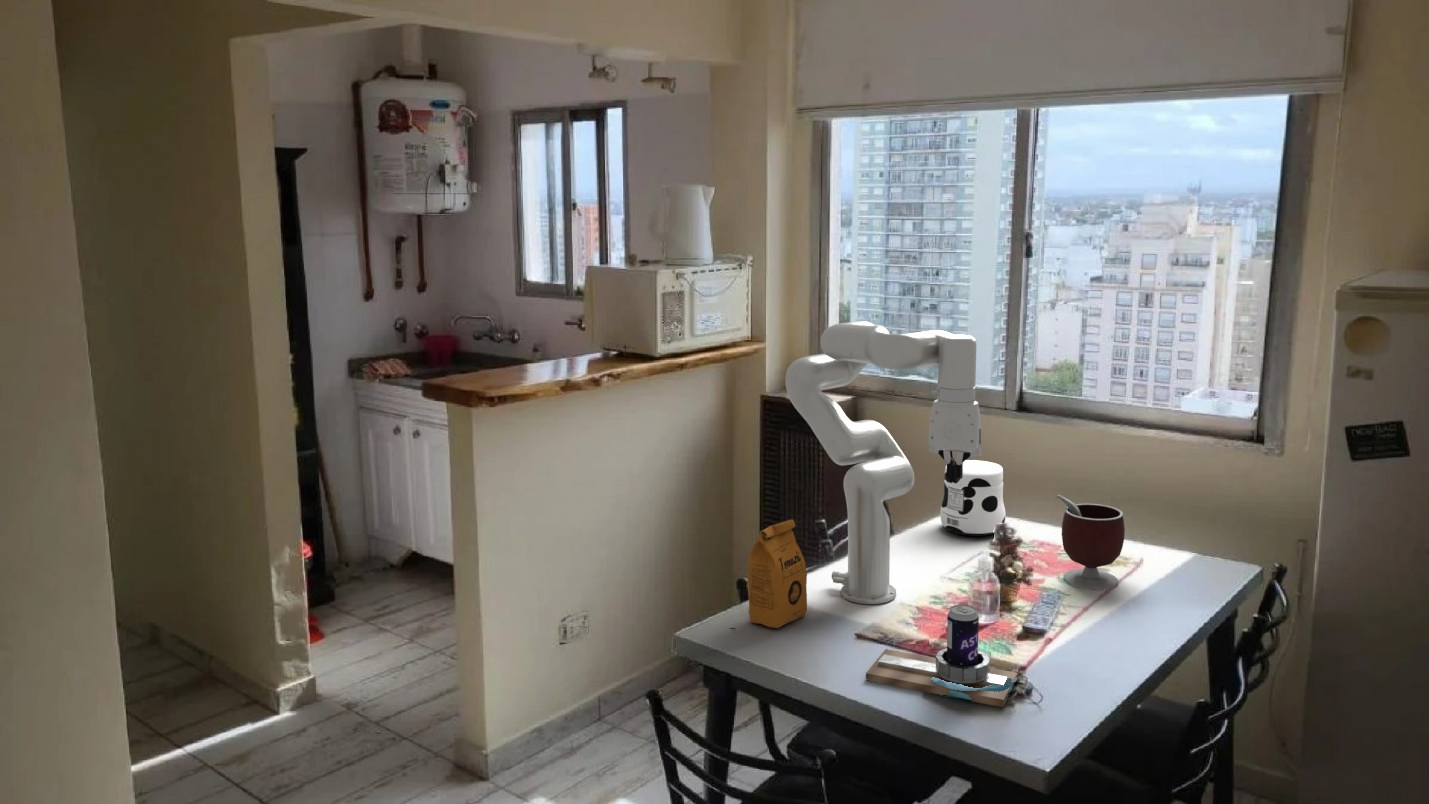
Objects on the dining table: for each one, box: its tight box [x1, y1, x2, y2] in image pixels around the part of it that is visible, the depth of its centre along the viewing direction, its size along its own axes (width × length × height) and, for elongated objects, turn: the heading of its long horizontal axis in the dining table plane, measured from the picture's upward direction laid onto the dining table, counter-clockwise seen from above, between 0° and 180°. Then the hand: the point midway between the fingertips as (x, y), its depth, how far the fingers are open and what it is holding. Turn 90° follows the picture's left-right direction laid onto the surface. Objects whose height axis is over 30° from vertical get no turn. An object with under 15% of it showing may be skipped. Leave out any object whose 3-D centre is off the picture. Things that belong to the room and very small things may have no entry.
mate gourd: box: [1056, 494, 1126, 591], centre depth 250 cm, size 16×14×20 cm
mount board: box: [865, 648, 1018, 708], centre depth 202 cm, size 26×12×2 cm, turn 63°
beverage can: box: [946, 604, 980, 667], centre depth 199 cm, size 6×6×12 cm
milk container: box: [939, 459, 1007, 537], centre depth 288 cm, size 17×17×18 cm
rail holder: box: [878, 647, 1007, 687], centre depth 201 cm, size 24×10×4 cm, turn 63°
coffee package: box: [747, 518, 808, 629], centre depth 230 cm, size 10×12×22 cm
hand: (954, 481), depth 221 cm, fingers closed
